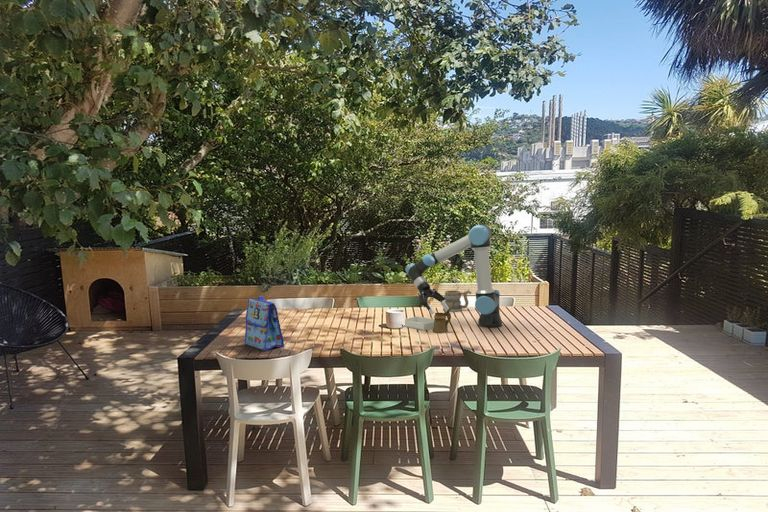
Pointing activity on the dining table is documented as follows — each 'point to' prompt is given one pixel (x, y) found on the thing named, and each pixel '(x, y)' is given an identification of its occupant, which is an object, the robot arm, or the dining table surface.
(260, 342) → the lunch bag
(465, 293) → the tankard
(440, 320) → the wooden mug
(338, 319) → the dining table surface
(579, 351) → the dining table surface
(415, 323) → the mug tray
